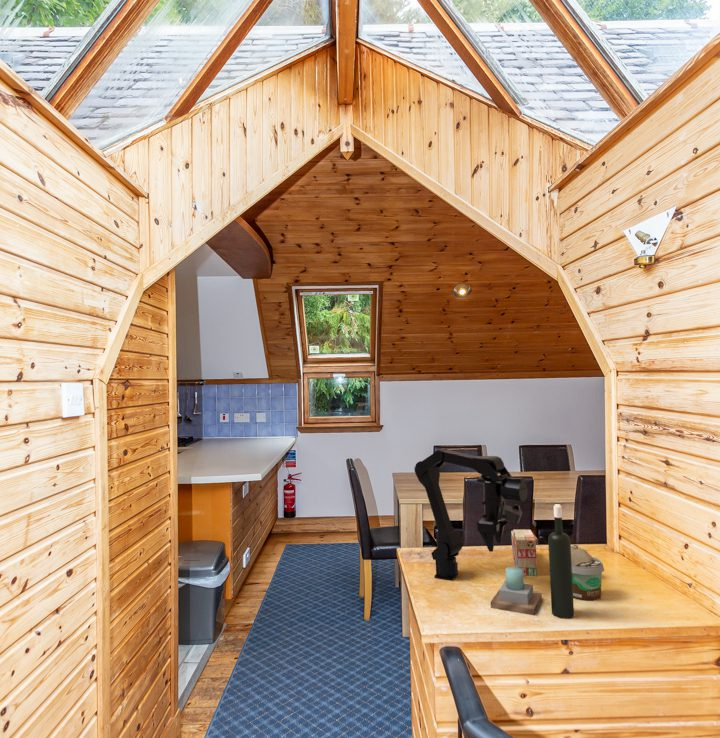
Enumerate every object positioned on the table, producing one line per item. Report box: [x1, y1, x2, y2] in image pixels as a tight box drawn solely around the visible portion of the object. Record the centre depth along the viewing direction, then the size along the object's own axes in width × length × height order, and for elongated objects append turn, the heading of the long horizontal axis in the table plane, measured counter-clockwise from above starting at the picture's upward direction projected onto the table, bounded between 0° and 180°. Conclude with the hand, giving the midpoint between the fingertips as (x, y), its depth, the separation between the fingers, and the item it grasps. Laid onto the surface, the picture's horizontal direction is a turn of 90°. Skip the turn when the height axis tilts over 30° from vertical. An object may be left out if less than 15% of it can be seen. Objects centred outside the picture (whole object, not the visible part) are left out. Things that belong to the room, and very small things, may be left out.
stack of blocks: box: [510, 529, 538, 577], centre depth 185 cm, size 21×6×12 cm, turn 169°
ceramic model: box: [571, 544, 594, 566], centre depth 174 cm, size 14×11×10 cm
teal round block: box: [505, 566, 525, 590], centre depth 154 cm, size 5×5×5 cm
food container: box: [572, 556, 605, 602], centre depth 156 cm, size 12×6×10 cm, turn 117°
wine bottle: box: [547, 503, 575, 619], centre depth 146 cm, size 6×6×30 cm
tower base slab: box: [490, 590, 543, 616], centre depth 153 cm, size 12×12×2 cm
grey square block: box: [498, 580, 534, 605], centre depth 154 cm, size 8×8×3 cm
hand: (495, 547), depth 165 cm, fingers open, 9 cm apart
